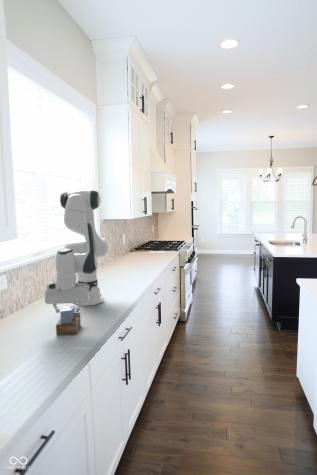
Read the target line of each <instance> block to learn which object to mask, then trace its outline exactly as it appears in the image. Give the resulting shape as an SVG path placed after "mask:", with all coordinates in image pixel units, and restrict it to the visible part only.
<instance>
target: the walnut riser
mask: <svg viewBox="0 0 317 475" xmlns="http://www.w3.org/2000/svg"><path fill="white" fill-rule="evenodd" d="M81 324H82V323H81V311H80V312H76V311H75V319H74V321H73V322H72V324H61V317H60V319H59V320H58V321H57V323H56V325H55V330H56V332H55V333H56V336H75V335H77V333H78V332H79V330H80V328H81Z"/></svg>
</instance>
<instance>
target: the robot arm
mask: <svg viewBox="0 0 317 475" xmlns="http://www.w3.org/2000/svg"><path fill="white" fill-rule="evenodd" d="M101 200H102V198H101V195H100V193H99V192H98V191H97V190H94V189H93V190H90V189H75V190H63V191H62V192H61V193H60V196H59V203H60V206H61V208H62V209H64V213H63V214H64V215H63V223H64V225H65V227H66V228H67V229H69V230H70V231H72V232H73V233H76V234H79V235H81V236H83V237H84V239H73V240H70V241H67V242H66V244H65V246H64V248H60V249H58V250H57V252H56V254H55V255H56V256H55V270H56V279H55V280H53V281H49V282H48V283H47V284H46V290H45V293H44V303H45V304H46V305H52V307H53V308H54V310H55V313H57V314H59V313H60V311H61V310H60V307H58V306H57V305H58V304H59V305H60V304H62V305H63V304H75V305H78V307H75V312H80V313H81V307H82V306H83V307H84V306H86V307H87V306H94V305H98V304H101V303H104V302H105V300H104V297H103V295H102V294H101V289H100V287H99V281H98V276H97V269H98V258H100V257H104V256H106V255H107V253H108V250H109V246H108V244H107V243H108V242H106V241H105V240H104V239H102V238H101V237H100V235H99V234H98V233H97V230H96V226H95V225H96V224H95V213H94V212H95V211H94V210H96V209H98V208H99V207H100V204H101ZM76 274H77V275H78V276H77V275H76ZM77 278H78V279H77Z"/></svg>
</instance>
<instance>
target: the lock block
mask: <svg viewBox="0 0 317 475" xmlns="http://www.w3.org/2000/svg"><path fill="white" fill-rule="evenodd" d="M75 312H76V306H75V305H64V306H63V307H62V308H61V310H60V312H59V313H60V314H59V315H60V318H61V324H72V322H73V321H74V319H75Z"/></svg>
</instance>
